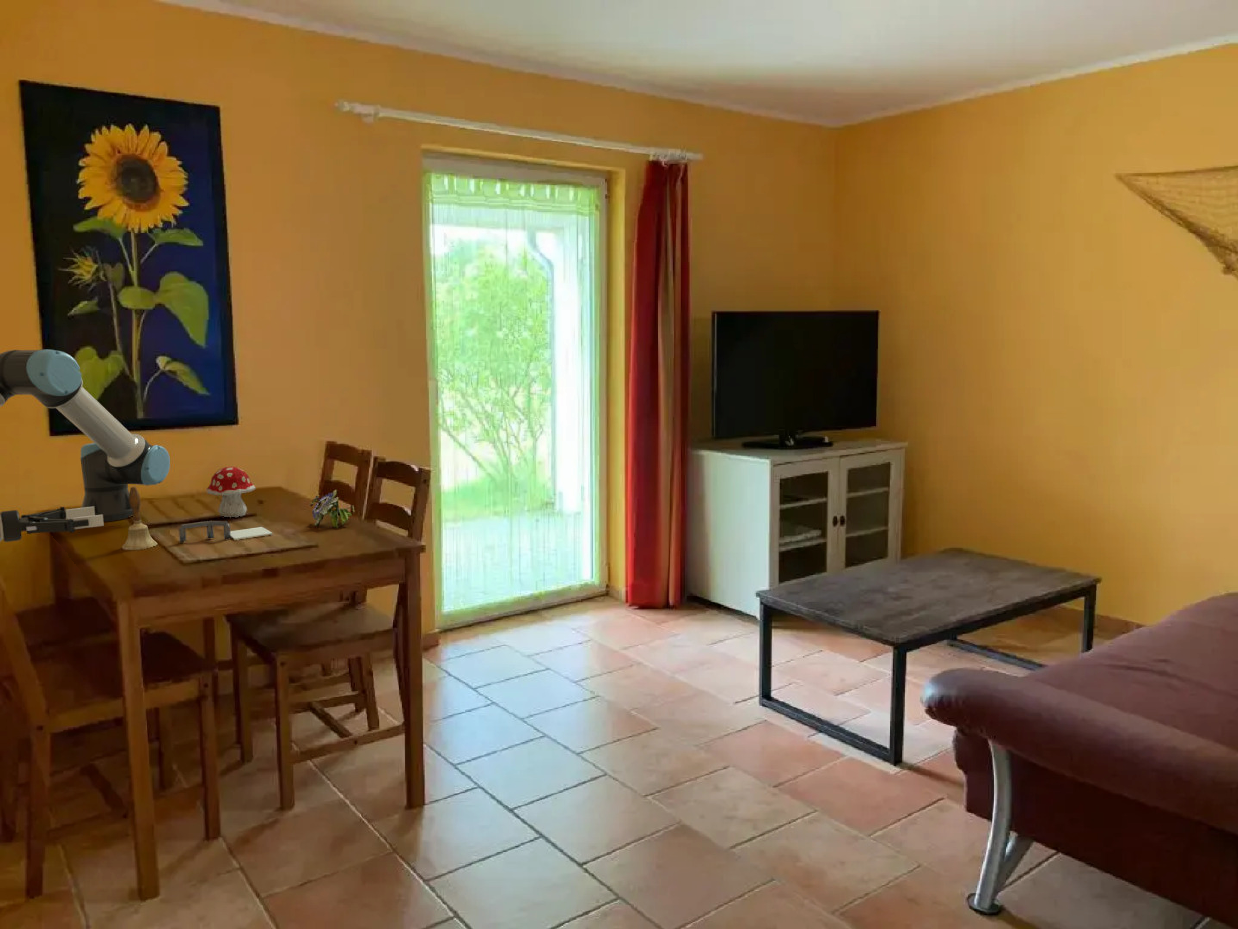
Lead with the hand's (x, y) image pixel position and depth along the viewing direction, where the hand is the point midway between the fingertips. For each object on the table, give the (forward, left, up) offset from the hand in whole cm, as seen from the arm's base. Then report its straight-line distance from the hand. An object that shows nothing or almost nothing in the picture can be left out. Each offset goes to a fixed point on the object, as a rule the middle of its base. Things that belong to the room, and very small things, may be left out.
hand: (98, 515), depth 246 cm
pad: (+5, +35, -9) cm, 37 cm away
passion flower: (+7, +58, -10) cm, 59 cm away
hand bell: (0, +9, -10) cm, 13 cm away
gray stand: (+5, +24, -9) cm, 26 cm away
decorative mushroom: (-24, +39, -10) cm, 47 cm away
